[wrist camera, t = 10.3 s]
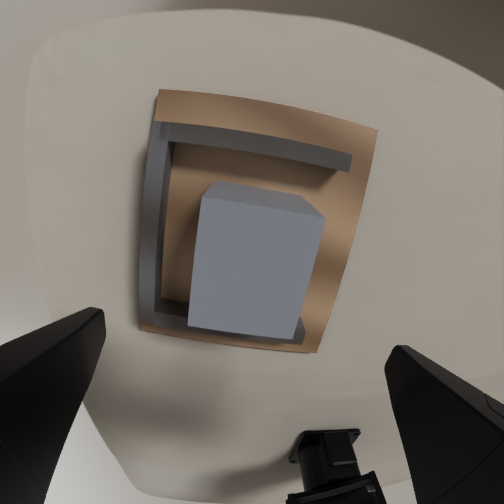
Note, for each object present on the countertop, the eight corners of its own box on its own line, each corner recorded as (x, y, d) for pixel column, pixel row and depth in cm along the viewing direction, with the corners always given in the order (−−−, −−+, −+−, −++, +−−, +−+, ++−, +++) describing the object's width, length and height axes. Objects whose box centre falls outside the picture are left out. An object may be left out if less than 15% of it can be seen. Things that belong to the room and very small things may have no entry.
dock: (314, 348, 22) (321, 368, 19) (142, 325, 20) (133, 344, 18) (373, 130, 16) (391, 129, 14) (161, 90, 15) (150, 83, 13)
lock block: (279, 287, 19) (292, 339, 14) (201, 276, 19) (187, 325, 13) (300, 195, 17) (325, 218, 12) (214, 180, 17) (202, 196, 11)
